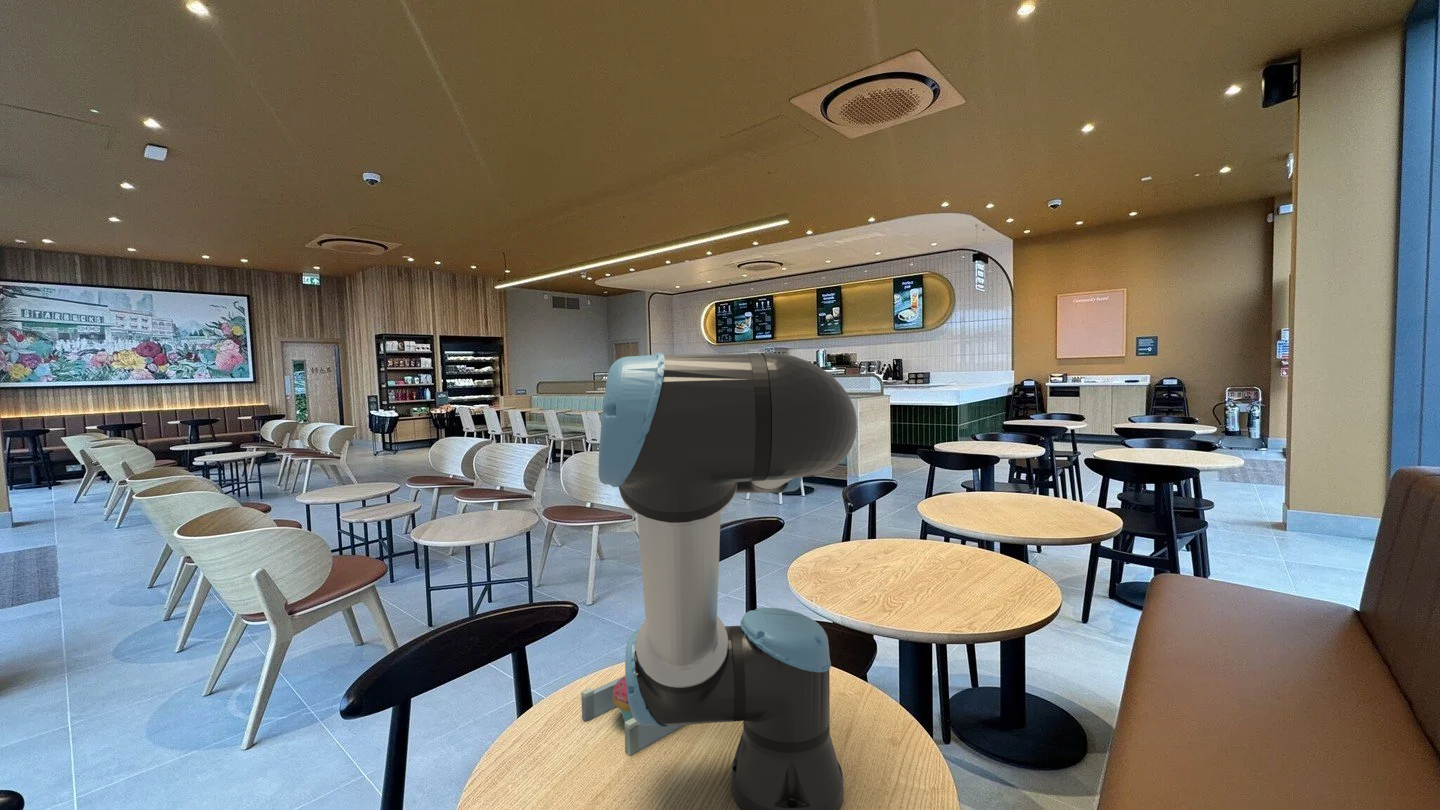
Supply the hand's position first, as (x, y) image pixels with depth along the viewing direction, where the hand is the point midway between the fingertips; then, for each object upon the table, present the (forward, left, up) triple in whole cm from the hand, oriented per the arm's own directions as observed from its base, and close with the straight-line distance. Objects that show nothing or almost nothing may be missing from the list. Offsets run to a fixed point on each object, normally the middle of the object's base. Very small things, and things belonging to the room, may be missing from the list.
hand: (685, 646), depth 103 cm
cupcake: (0, +11, -9) cm, 14 cm away
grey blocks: (0, +10, -8) cm, 13 cm away
